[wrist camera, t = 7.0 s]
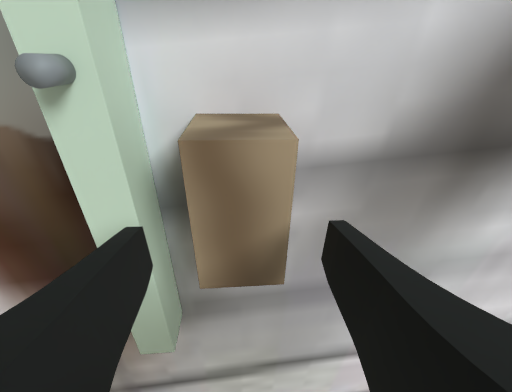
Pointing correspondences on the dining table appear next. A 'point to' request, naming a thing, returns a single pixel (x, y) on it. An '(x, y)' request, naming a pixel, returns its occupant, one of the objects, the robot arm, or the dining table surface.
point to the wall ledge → (98, 136)
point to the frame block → (239, 196)
